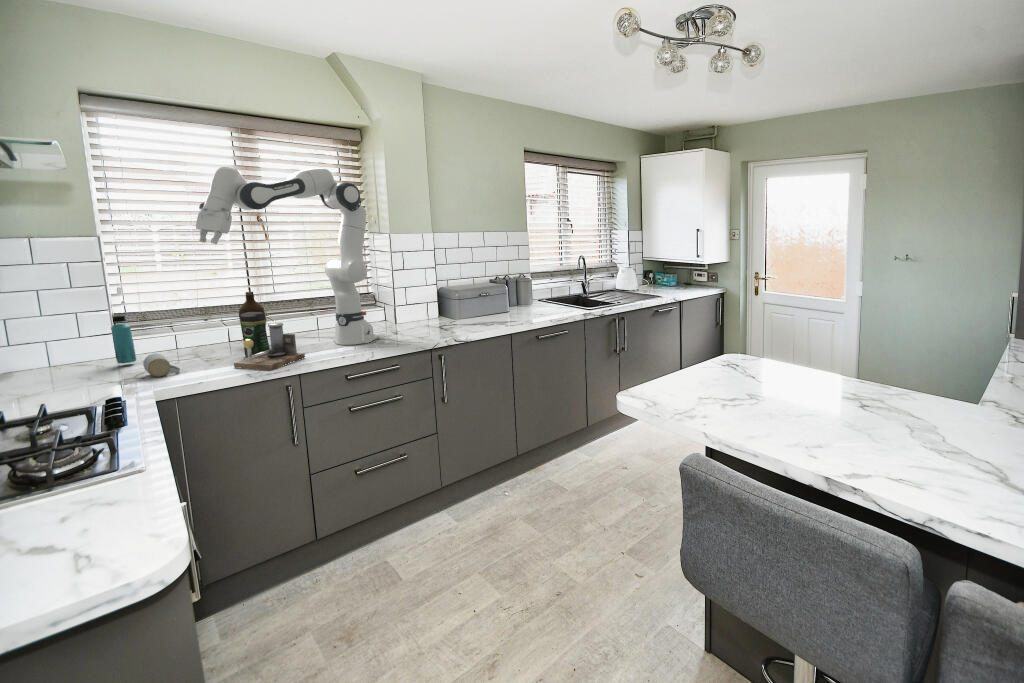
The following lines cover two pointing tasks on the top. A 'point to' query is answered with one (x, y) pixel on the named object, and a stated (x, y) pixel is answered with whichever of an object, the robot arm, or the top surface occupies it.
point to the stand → (274, 362)
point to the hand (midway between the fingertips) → (207, 242)
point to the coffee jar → (255, 331)
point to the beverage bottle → (123, 341)
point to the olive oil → (250, 306)
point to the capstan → (276, 343)
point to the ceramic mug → (158, 365)
